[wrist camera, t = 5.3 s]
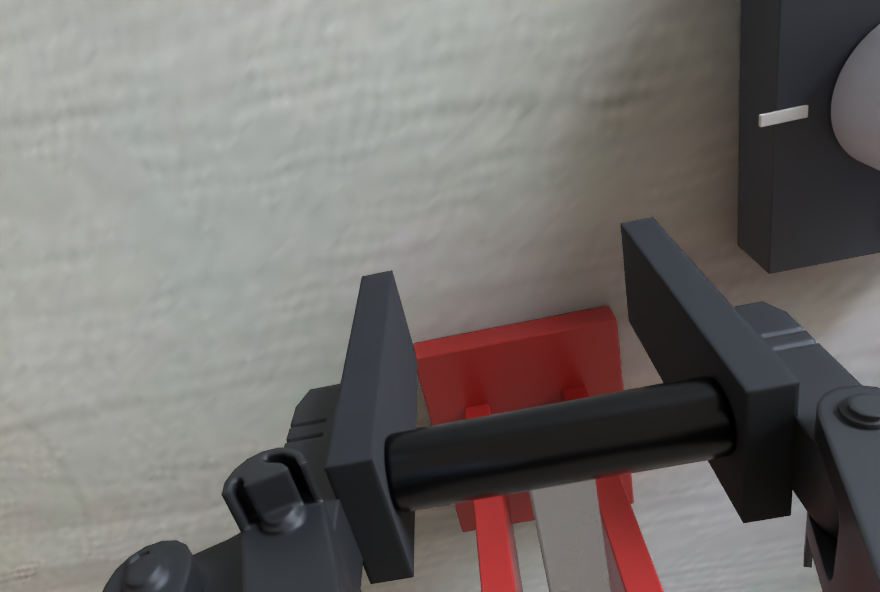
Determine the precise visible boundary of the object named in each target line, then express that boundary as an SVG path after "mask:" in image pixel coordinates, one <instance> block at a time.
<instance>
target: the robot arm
mask: <svg viewBox="0 0 880 592" xmlns="http://www.w3.org/2000/svg"><path fill="white" fill-rule="evenodd" d="M621 235H622V247H623V259H624V271H625V283H626V295H627V307H628V318H629V322H630V324H631V326H632V327H633V329H634V331H635V333H636V335H637V336H638V338H639V340H640V342H641V343H642V345H643V347H644V349H645V350H646V352H647V354H648V356H649V358H650V359H651V361H652V363H653V365H654V366H655V368H656V370H657V372H658V373H659V375H660V377H661V379H662V380H663V382H664V383H667V382H672V381H678V380H683V379H689V378H694V377H700V376H709V377H712V378H714V379H715V380H716V381H717V383H718V384H719V385H720V387H721V389H722V390H723V392H724V394H725V396H726V398H727V400H728V403H729V406H730V409H731V412H732V415H733V419H734V424H735V432H736V446H735V450H734V452H733V453H732V454H731V455H729V456H728V457H723V458H717V459H711V460H708V462H709V463H710V465H711V467H712V469H713V470H714V472H715V474H716V476H717V478H718V479H719V481H720V483H721V485H722V486H723V488H724V490H725V492H726V493H727V495H728V497H729V499H730V500H731V502H732V504H733V506H734V508H735V509H736V511H737V513H738V515H739V516H740V518H741V520H742V522H743V523H748V522H754V521H760V520H766V519H772V518H778V517H784V516H790V515H791V503H792V490H793V491H794V493H795V494H796V496H797V497H798V498H799V500H800V501H801V503H802V504H803V506H804V507H805V508H806V510H807V522H806V534H805V545H804V567H812V558H813V559H814V563H815V566H816V570H817V573H818V577H819V580H820V584H821V588H822V591H823V592H880V388H878V387H871V386H862V385H861V384H860V383H859V382H858V381H857V380H856V379H855V378H854V377H853V376H852V375H851V374H850V373H849V372H848V371H847V370H846V369H845V368H844V367H843V366H842V365H841V364H840V363H839V362H838V361H837V360H836V359H834V358H833V357H832V356H831V355H830V354H829V353H828V352H827V351H826V350H825V349H824V348H823V347H822V346H821V345H820V344H819V343H817V344H816V341H815V339H814V338H813V337H812V336H811V335H810V334H809V333H808V332H807V331H803V328H802V327H801V326H800V325H799V324H798V323H797V322H796V321H795V320H794V319H793V318H792V317H791V316H790V315H789V314H788V313H787V312H785V311H783V310H780V309H778V308H776V307H774V306H772V305H769V304H767V303H765V302H763V301H762V302H757V303H752V304H747V305H741V306H736V307H733V306H732V305H731V304H730V303H729V302H728V301H727V300H726V299H725V297H724V296H723V295H722V294H721V293H720V292H719V291H718V290H717V289H716V287H715V286H714V285H713V284H712V283H711V282H710V281H709V280H708V278H707V277H706V276H705V275H704V274H703V273H702V272H701V271H700V269H699V268H698V267H697V266H696V265H695V264H694V263H693V262H692V260H691V259H690V258H689V257H688V256H687V255H686V254H685V253H684V251H683V250H682V249H681V248H680V247H679V246H678V245H677V244H676V243H675V241H674V240H673V239H672V238H671V237H670V236H669V235H668V234H667V232H666V231H665V230H664V229H663V228H662V227H661V226H660V225H659V223H658V222H657V221H656V220H655V219H654V218H653V217H650V218H645V219H640V220H636V221H631V222H626V223H621ZM417 365H418V361H417V358H416V354H415V350H414V347H413V343H412V340H411V336H410V333H409V329H408V325H407V322H406V318H405V315H404V311H403V307H402V304H401V300H400V297H399V293H398V290H397V286H396V282H395V279H394V275H393V272H392V270H391V271H387V272H382V273H377V274H372V275H367V276H362V279H361V284H360V289H359V294H358V299H357V304H356V309H355V314H354V319H353V324H352V329H351V334H350V339H349V344H348V349H347V354H346V359H345V364H344V369H343V374H342V379H341V384H337V385H332V386H327V387H321V388H316V389H311V390H309V392H308V393H307V394H306V395H305V396H304V398H303V399H302V400H301V401H300V403H299V404H298V405H297V406H296V408H295V412H294V415H293V419H292V422H291V428H290V429H289V433H288V436H287V439H286V440H287V443H285V446H284V448H275V449H271V450H267V451H263V452H261V453H259V454H257V455H255V456H253V457H251V458H249V459H247V460H246V461H244V462H243V463H242V464H241V465H239V466H238V467H237V468H236V469H235V470H234V471H233V472H232V473H231V475H230V476H229V477H228V479H227V480H226V481H225V484H224V487H223V491H222V496H223V498H224V500H225V502H226V504H227V506H228V508H229V510H230V512H231V514H232V516H233V517H234V519H235V521H236V523H237V525H238V527H239V529H240V531H241V532H240V533H239V534H237V535H236V536H234V537H232V538H230V539H228V540H226V541H224V542H222V543H219V544H217V545H215V546H213V547H210V548H208V549H206V550H203V551H201V552H199V553H197V554H194V555H192V553H191V552H190V550H189V548H188V546H187V545H186V544H183V543H181V542H179V541H177V540H172V541H160V542H158V543H155V544H152V545H149V546H146V547H144V548H143V549H141V550H140V551H138V552H136V553H135V554H133V555H132V556H130V557H129V558H128V559H127V560H126V561H125V562H124V563H122V564H121V565H120V566H119V567H118V568H117V569H116V570H115V572H114V573H113V575H112V576H111V578H110V579H109V581H108V582H107V584H106V585H105V587H104V590H103V592H361V590H360V587H361V577H362V567H363V566H364V569H365V571H366V574H367V576H368V579H369V581H370V583H371V584H375V583H381V582H387V581H393V580H399V579H405V578H411V577H414V530H415V511H410V512H405V513H404V512H400V511H398V510H397V508H396V507H395V505H394V503H393V500H392V497H391V494H390V490H389V486H388V481H387V475H386V468H385V444H386V439H387V436H388V435H390V434H391V433H395V432H400V431H406V430H411V429H416V420H417Z"/></svg>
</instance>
